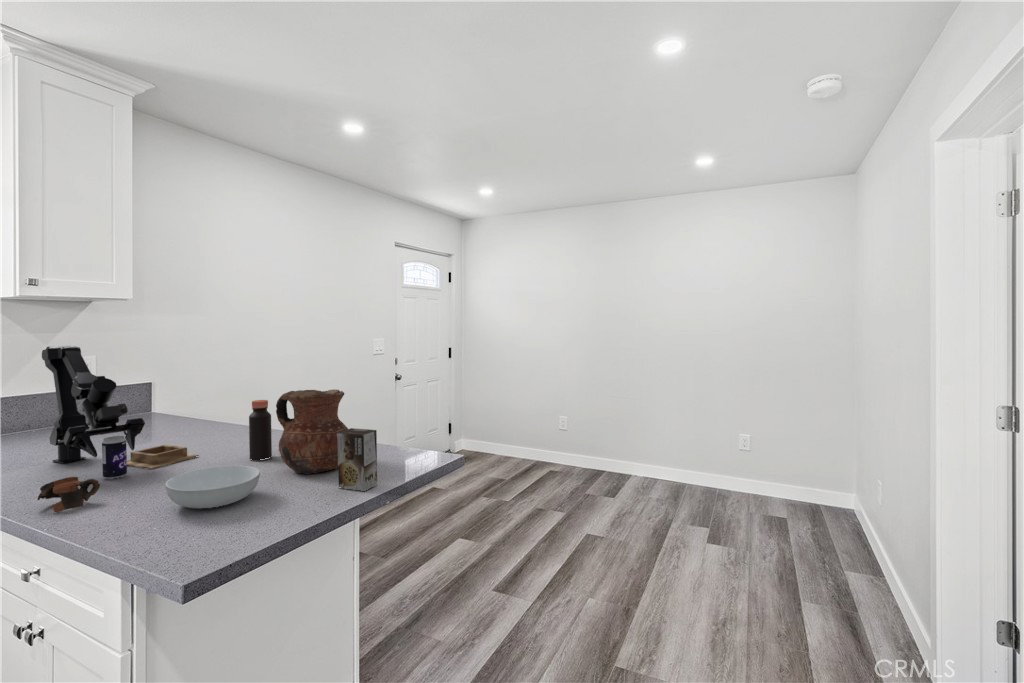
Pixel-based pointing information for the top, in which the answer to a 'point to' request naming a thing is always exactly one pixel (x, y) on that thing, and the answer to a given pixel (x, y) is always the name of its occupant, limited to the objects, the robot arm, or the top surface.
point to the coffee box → (357, 459)
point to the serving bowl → (212, 486)
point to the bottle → (260, 431)
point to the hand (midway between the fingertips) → (115, 452)
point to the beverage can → (114, 457)
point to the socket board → (158, 456)
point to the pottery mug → (68, 492)
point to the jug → (310, 430)
